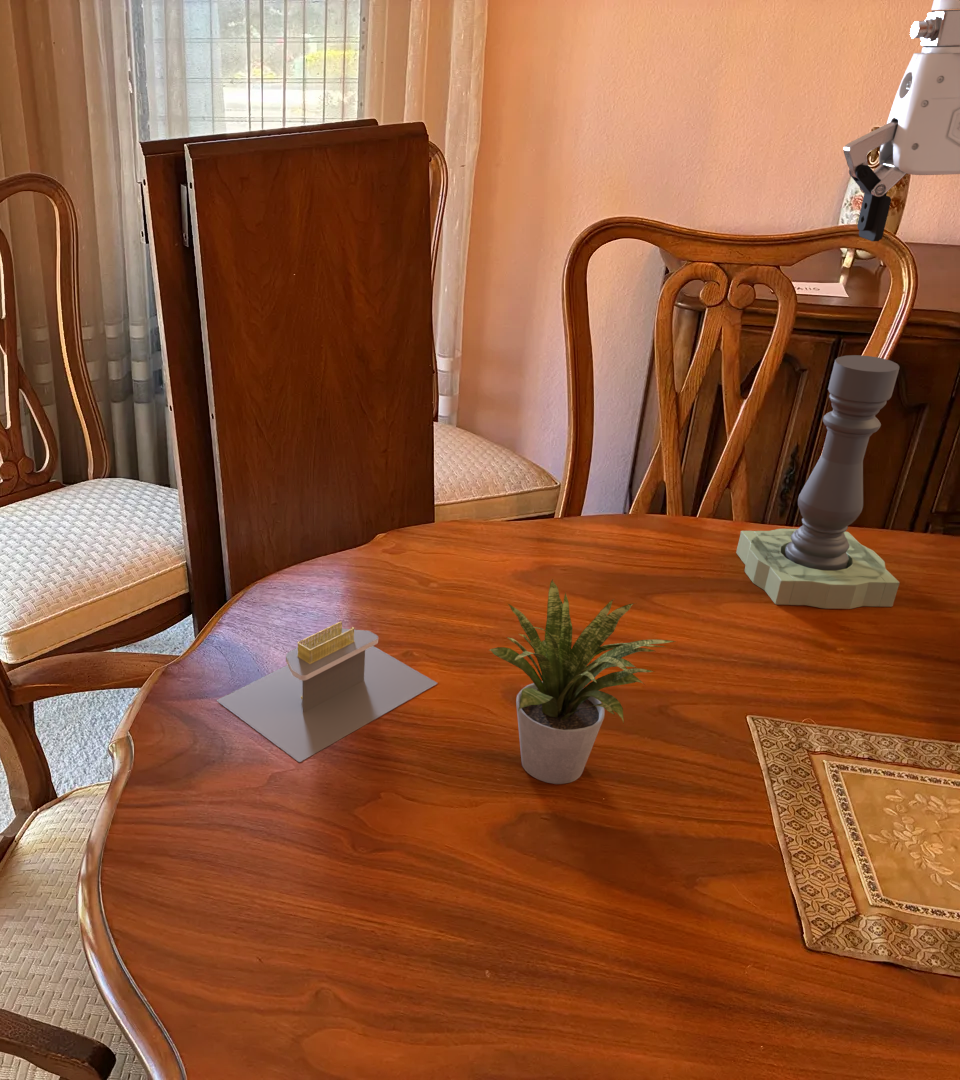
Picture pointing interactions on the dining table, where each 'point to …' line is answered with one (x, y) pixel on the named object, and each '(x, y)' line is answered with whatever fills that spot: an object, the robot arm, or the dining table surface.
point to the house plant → (567, 688)
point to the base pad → (815, 574)
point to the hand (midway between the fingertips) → (924, 237)
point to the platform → (325, 691)
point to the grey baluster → (841, 462)
